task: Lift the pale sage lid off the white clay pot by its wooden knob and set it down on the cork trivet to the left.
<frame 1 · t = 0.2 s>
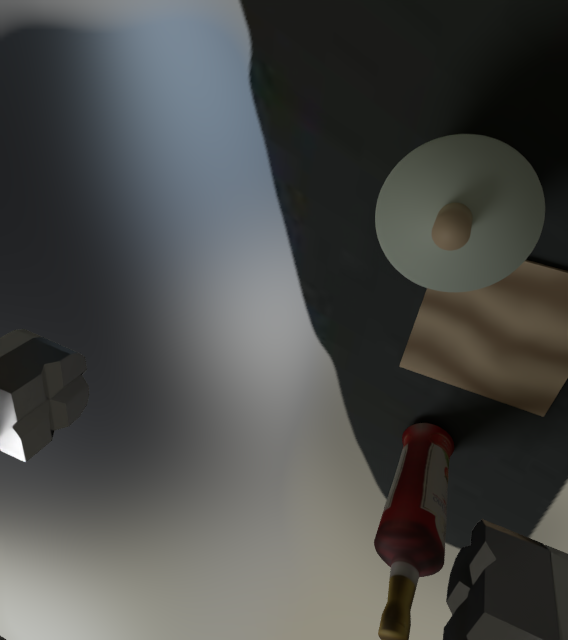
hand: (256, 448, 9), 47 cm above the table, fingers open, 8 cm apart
trivet: (496, 329, 54), on the table
lid: (454, 217, 41), point 9 cm above the table, touching lidded jar
liquor: (428, 436, 65), on the table
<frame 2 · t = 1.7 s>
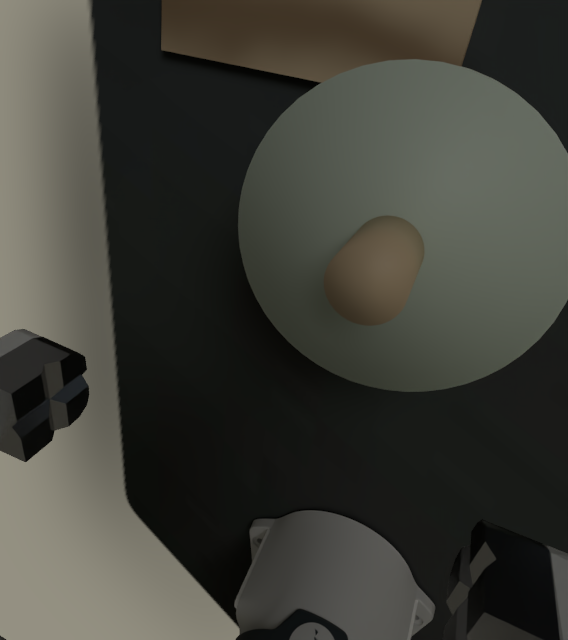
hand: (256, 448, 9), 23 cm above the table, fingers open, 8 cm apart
lid: (390, 245, 20), point 9 cm above the table, touching lidded jar
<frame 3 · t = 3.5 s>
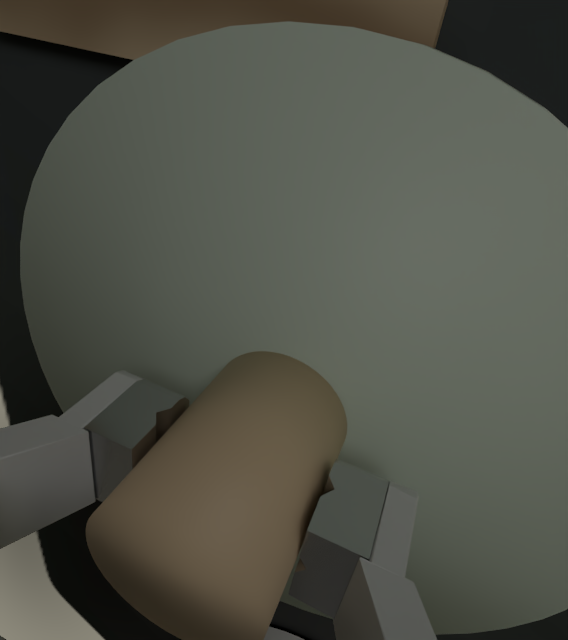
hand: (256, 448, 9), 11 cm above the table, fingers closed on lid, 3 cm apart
lid: (292, 390, 10), point 9 cm above the table, touching gripper, lidded jar
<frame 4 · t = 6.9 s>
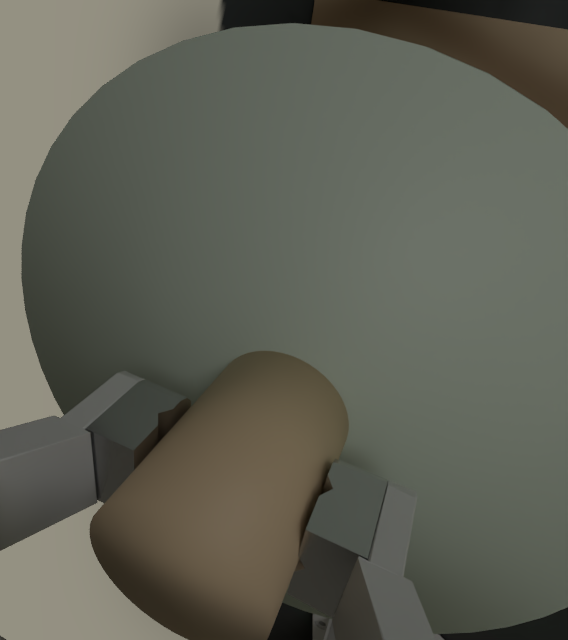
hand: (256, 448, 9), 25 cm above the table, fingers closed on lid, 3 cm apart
trivet: (424, 183, 29), on the table
lid: (293, 390, 11), point 23 cm above the table, touching gripper
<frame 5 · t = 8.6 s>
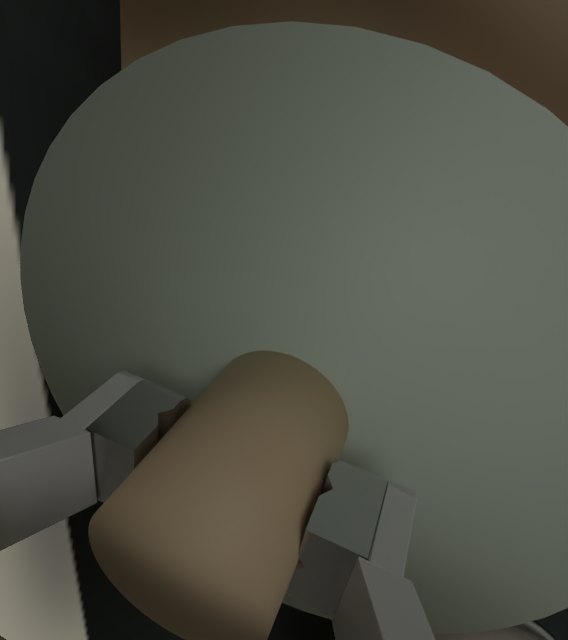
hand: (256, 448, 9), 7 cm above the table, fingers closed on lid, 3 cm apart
trivet: (369, 303, 15), on the table
lid: (293, 390, 10), point 5 cm above the table, touching gripper
when the fingers open (4 cm above the table, at t = 9.9 s): lid stays where it is, resting on trivet.
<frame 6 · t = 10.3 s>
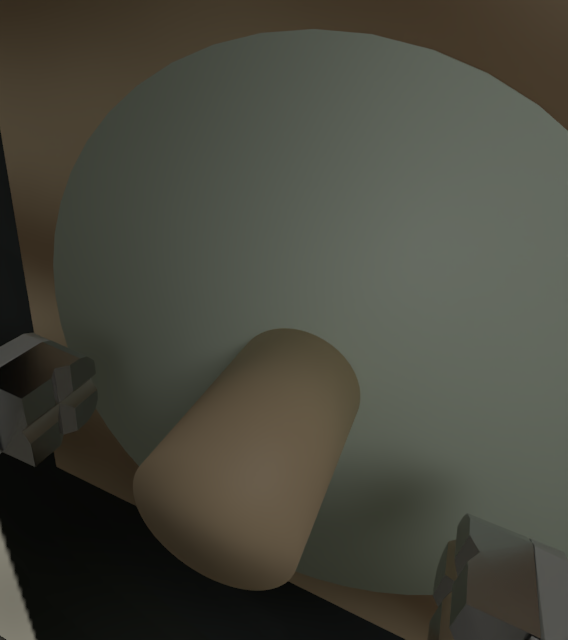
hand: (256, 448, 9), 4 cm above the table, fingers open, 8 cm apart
trivet: (315, 353, 12), on the table
lid: (307, 367, 11), point 1 cm above the table, touching trivet
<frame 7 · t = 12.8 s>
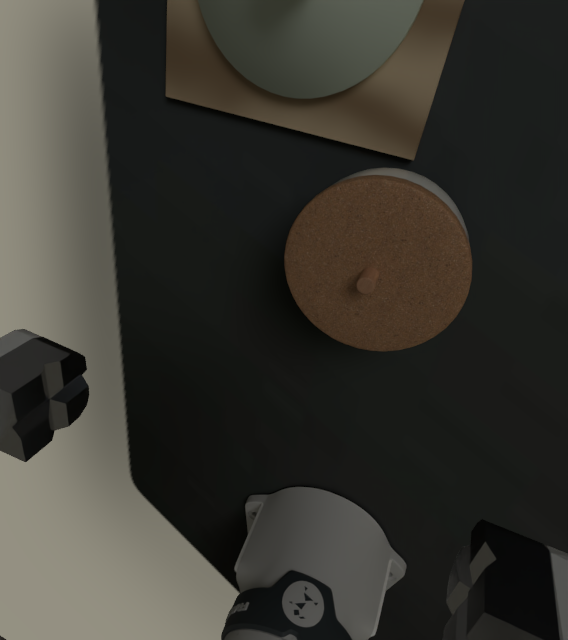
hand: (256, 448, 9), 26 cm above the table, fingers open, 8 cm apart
lidded jar: (392, 228, 33), on the table
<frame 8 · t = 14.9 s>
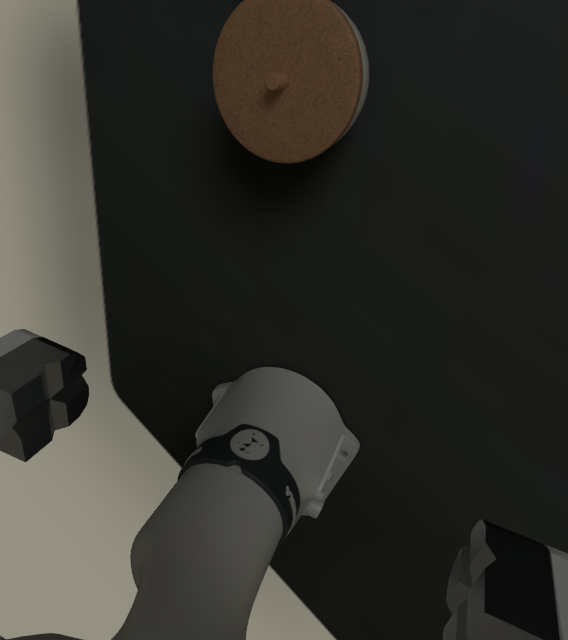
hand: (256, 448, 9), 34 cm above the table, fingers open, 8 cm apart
lidded jar: (318, 78, 38), on the table
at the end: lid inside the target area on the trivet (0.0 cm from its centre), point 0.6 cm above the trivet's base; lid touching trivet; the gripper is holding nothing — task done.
